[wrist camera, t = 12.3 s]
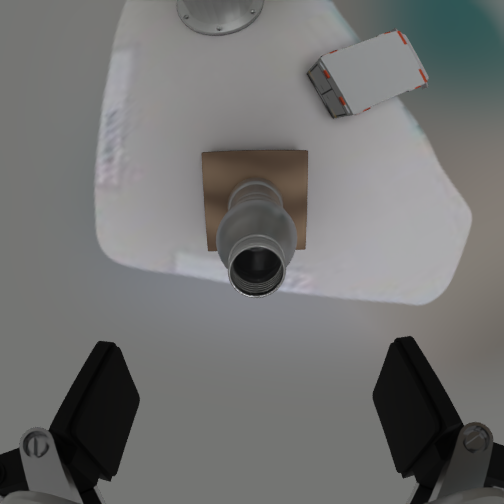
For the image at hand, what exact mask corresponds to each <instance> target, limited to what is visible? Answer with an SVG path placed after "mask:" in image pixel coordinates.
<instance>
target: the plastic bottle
mask: <svg viewBox="0 0 504 504" xmlns="http://www.w3.org/2000/svg"><path fill="white" fill-rule="evenodd" d="M216 246H217V251H218V254H219V256H220V259H221V261H222V262H223V264H224V265H225V267H226V268H227V269H228V276H229V280H230V282H231V285H232V286H233V287H234V289H235V290H236V291H237V292H239V293H240V294H242V295H244V296H247V297H251V298H261V297H265V296H268V295H270V294H272V293H274V292H275V291H276V290H277V289H278V288H279V287H280V286H281V284H282V283H283V281H284V278H285V273H286V267H287V265H288V264H289V263H290V261H291V259H292V257H293V255H294V252H295V249H296V246H297V230H296V227H295V224H294V222H293V220H292V218H291V217H290V215H289V214H288V213H287V212H286V211H285V209H284V208H283V198H282V195H281V193H280V191H279V189H278V188H277V187H276V186H275V185H274V184H273V183H272V182H270V181H269V180H266V179H263V178H248V179H246V180H243V181H242V182H240V183H239V184H238V185H237V186H236V187H235V188H234V189H233V190H232V192H231V194H230V196H229V200H228V212H227V213H226V214H225V216H224V217H223V219H222V220H221V222H220V224H219V227H218V230H217V234H216Z"/></svg>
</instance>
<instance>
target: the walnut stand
mask: <svg viewBox="0 0 504 504" xmlns="http://www.w3.org/2000/svg"><path fill="white" fill-rule="evenodd" d="M202 172H203V189H204V205H205V219H206V232H207V245H208V251H217V246H216V234H217V230H218V227H219V224H220V222H221V220H222V219H223V217H224V216H225V214H226V213H227V212H228V200H229V196H230V194H231V192H232V190H233V189H234V188H235V187H236V186H237V185H238V184H239V183H240V182H242V181H243V180H246V179H248V178H263V179H266V180H269V181H270V182H272V183H273V184H274V185H275V186H276V187H277V188H278V189H279V191H280V193H281V195H282V198H283V208H284V209H285V211H286V212H287V213H288V214H289V215H290V217H291V218H292V220H293V222H294V224H295V227H296V230H297V246H296V249H295V250H304V249H305V246H306V222H307V187H308V151H306V150H242V151H217V152H203V153H202Z"/></svg>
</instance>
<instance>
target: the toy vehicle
mask: <svg viewBox="0 0 504 504" xmlns="http://www.w3.org/2000/svg"><path fill="white" fill-rule="evenodd" d="M307 75H308V76H309V78H310V80H311V81H312V83H313V84H314V86H315V88H316V89H317V91H318V93H319V94H320V96H321V98H322V100H323V101H324V103H325V105H326V107H327V108H328V110H329V112H330V114H331V115H332V117H333V119H334V118H339V117H344V116H350V115H358V114H360V113H362V112H364V111H366V110H368V109H370V107H372V106H374V105H376V104H378V103H381V102H383V101H385V100H387V99H390V98H392V97H394V96H396V95H399V94H401V93H403V92H409V91H411V90H414V89H416V88H419V87H420V85H421V87H422V88H428V85H427V81H428V80H427V79H428V78H429V77H428V75H427V73H426V71H425V69H424V68H423V65H422V64H421V62H420V60H419V58H418V56H417V54H416V52H415V51H414V49H413V47H412V45H411V44H410V42H409V40H408V39H407V37H406V35H405V34H402V33H401V32H400V31H398V30H397V29H396V28H394V29H393V30H391V32H387V33H383V34H380V35H377V36H376V37H375V38H372V39H369V40H366V41H363V42H360V43H357V44H354V45H352V46H349V47H346V48H344V49H341V50H338V51H337V50H335V51H332V52H330V53H327V54H325V55H323V56H321V58H320V59H319V60H318V61H317V62H316V63H315V64H314V66H313V67H312V68H311V69H310V70H309V71H308V72H307Z"/></svg>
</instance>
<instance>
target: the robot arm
mask: <svg viewBox="0 0 504 504" xmlns="http://www.w3.org/2000/svg"><path fill="white" fill-rule="evenodd" d="M262 6H263V0H178V1H177V11H178V14H179V17H180V18H181V20H182V21H183V22H184V23H185V25H186V26H188V27H189V28H190V29H192V30H194V31H196V32H198V33H202V34H206V35H225V34H230V33H233V32H236V31H239V30H241V29H243V28H245V27H247V26H248V25H249V24H251V23H252V22H253V21H254V20H255V19H256V18H257V17H258V15H259V14H260V12H261V9H262ZM252 13H255V14H252ZM187 18H188V19H187ZM219 29H221V31H218V30H219ZM139 401H140V397H139V394H138V392H137V389H136V387H135V384H134V382H133V380H132V377H131V375H130V373H129V370H128V367H127V365H126V362H125V360H124V357H123V355H122V352H121V350H120V348H119V347H117V346H116V344H115V343H113V342H105V341H99V342H97V344H96V345H95V347H94V349H93V350H92V352H91V353H90V355H89V357H88V359H87V360H86V362H85V364H84V366H83V367H82V369H81V371H80V372H79V374H78V376H77V378H76V379H75V381H74V383H73V384H72V386H71V388H70V390H69V392H68V393H67V396H66V397H65V399H64V401H63V403H62V405H61V406H60V408H59V410H58V412H57V414H56V416H55V418H54V420H53V422H52V424H51V426H50V428H49V430H46V429H44V428H40V427H35V428H31V429H29V430H27V431H26V432H25V433H24V434H23V436H22V437H21V440H20V443H19V445H20V446H19V448H17V449H14V450H12V451H9V452H6V453H3V454H1V455H0V504H106V503H105V501H104V499H103V497H102V495H101V493H100V491H99V489H98V487H97V482H98V479H99V478H100V479H103V480H106V481H111V478H112V476H115V475H116V474H117V471H118V468H119V465H120V461H121V458H122V455H123V452H124V448H125V445H126V442H127V439H128V436H129V433H130V430H131V427H132V423H133V421H134V417H135V415H136V411H137V409H138V406H139ZM373 401H374V404H375V407H376V410H377V413H378V416H379V418H380V421H381V424H382V427H383V430H384V433H385V436H386V439H387V442H388V445H389V448H390V451H391V455H392V457H393V461H394V464H395V467H396V470H397V472H398V473H401V474H402V477H403V478H406V477H410V476H413V475H415V478H416V481H417V482H416V485H415V487H414V489H413V491H412V493H411V495H410V497H409V499H408V501H407V503H406V504H504V446H503V445H500V444H497V443H494V442H493V435H492V433H491V431H490V429H489V428H488V427H487V426H485V425H484V424H481V423H479V422H472V423H468V424H466V425H465V426H464V425H463V423H462V421H461V419H460V417H459V415H458V413H457V411H456V409H455V408H454V406H453V404H452V402H451V400H450V398H449V396H448V395H447V393H446V392H445V389H444V388H443V386H442V384H441V382H440V381H439V379H438V377H437V375H436V374H435V372H434V371H433V369H432V368H431V366H430V364H429V363H428V361H427V359H426V357H425V356H424V354H423V353H422V351H421V349H420V348H419V346H418V345H417V343H416V341H415V340H414V338H413V337H411V336H408V337H401V338H396V339H395V340H394V343H391V344H390V347H389V350H388V352H387V356H386V358H385V361H384V364H383V367H382V370H381V372H380V375H379V378H378V380H377V383H376V386H375V388H374V391H373Z"/></svg>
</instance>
